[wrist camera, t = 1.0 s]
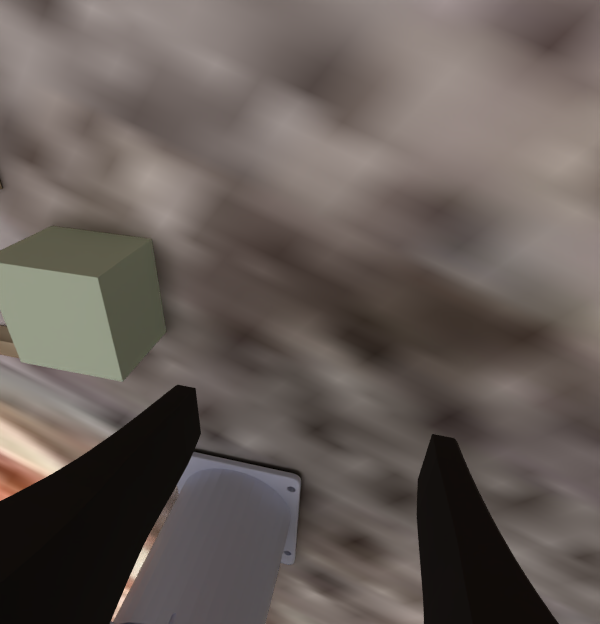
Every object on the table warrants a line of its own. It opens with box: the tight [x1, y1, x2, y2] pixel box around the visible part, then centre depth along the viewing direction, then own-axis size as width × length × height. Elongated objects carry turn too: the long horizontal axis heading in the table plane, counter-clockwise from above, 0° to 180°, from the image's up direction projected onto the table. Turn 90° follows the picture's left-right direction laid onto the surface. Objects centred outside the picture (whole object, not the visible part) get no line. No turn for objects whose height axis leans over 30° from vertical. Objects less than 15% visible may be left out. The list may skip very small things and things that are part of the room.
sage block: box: [0, 226, 166, 382], centre depth 19 cm, size 5×5×4 cm
